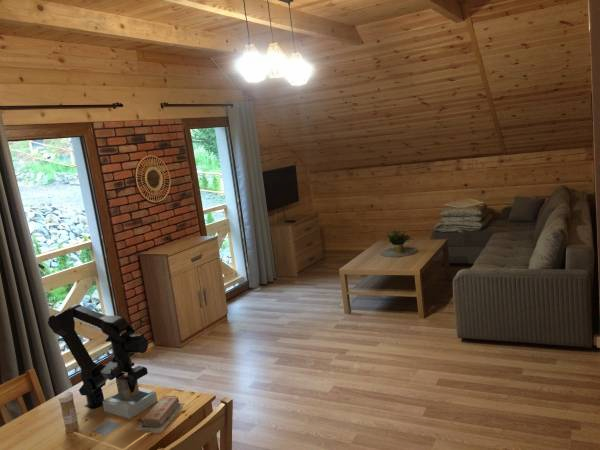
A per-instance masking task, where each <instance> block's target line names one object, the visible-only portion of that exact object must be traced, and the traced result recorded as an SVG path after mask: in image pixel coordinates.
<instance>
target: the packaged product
mask: <svg viewBox="0 0 600 450" xmlns="http://www.w3.org/2000/svg"><path fill="white" fill-rule="evenodd" d="M154 404H155V403H154ZM154 404H153V406H152V408H151V409H150V410H149V411H148V412H147V413H145V415H144V416H143V417H142V418H141V420H140V423H139V424H138V425H137V426H136V427H135V428H134V430H135V431H136V432H137V431H138V432H144V431H145V432H146V433H155V434H161V433H163V432H164V430H165V429H166V428H167V426H168V425H169V424H170V423H171V422H172V421H173V420H174V419H175V418H176V416H177V415H178V414H179V413H180V411H181V410H182V409H183V406H184V405H185V403H180V399H179V397H178V396H176V395H163V396H162V397H161V398H160V399H159V400H157V402H156V404H155V405H154Z"/></svg>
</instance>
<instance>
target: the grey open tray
mask: <svg viewBox="0 0 600 450" xmlns="http://www.w3.org/2000/svg"><path fill="white" fill-rule="evenodd" d="M138 388H139V394H137V395H135V396H134V397H132V398H130V399H129V400H127V401H125V400H122V399H119V394H118V392H116V393H115V394H113V395H111V396H108V397H107V398H104V401H102V402H103V405H102V406H103V411H104V412H105V413H108V414H112V415H116V416H118V417H122V418H124V419H128V420H130V419H133V418H134V417H135V416H137V415H138V414H140V413H142V412H143V411H144V410H146V409H148V408H149V407H151V406H152V405H154V404H155V403H157V402H158V396H157V391H156V390H152V389H148V388H145V387H140V386H138Z"/></svg>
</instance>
